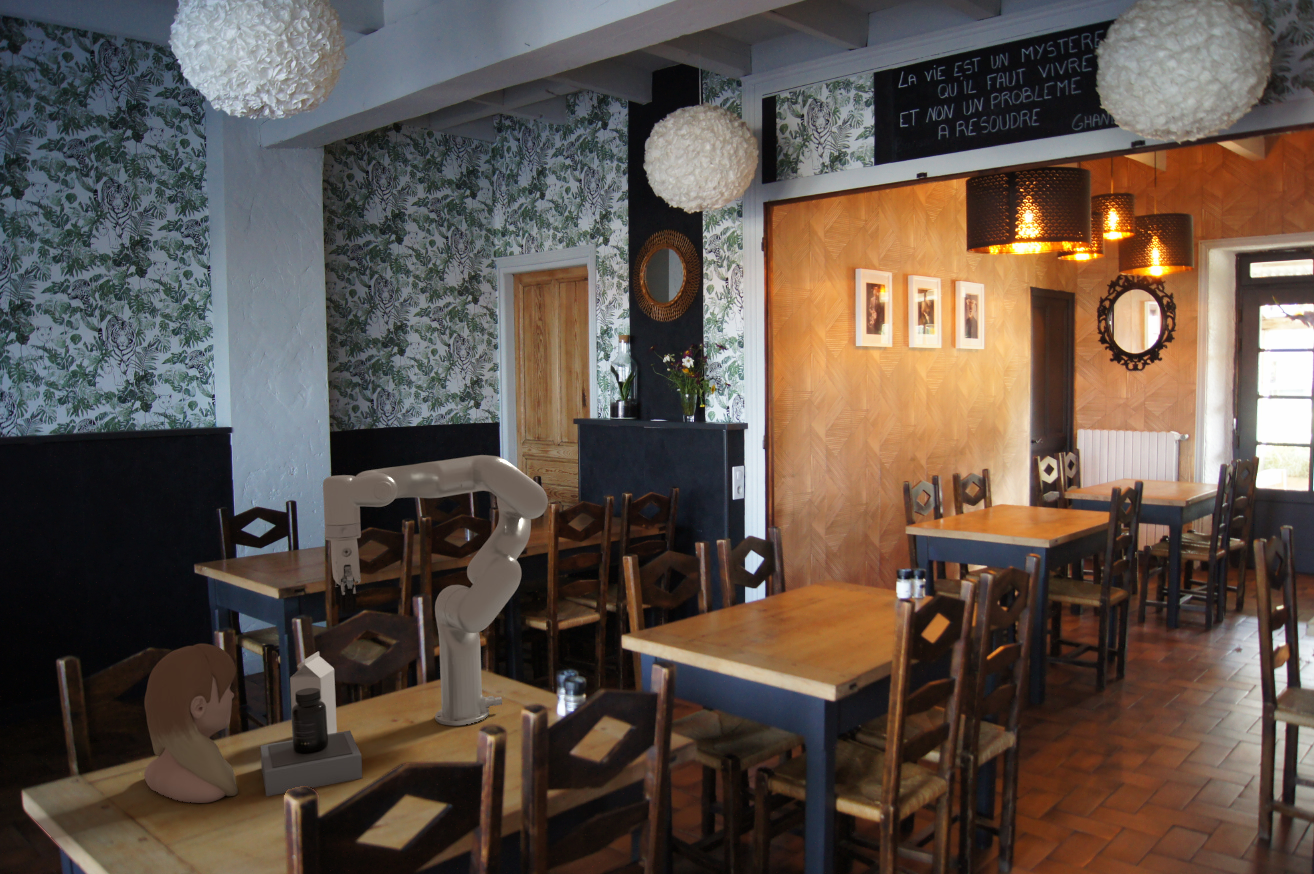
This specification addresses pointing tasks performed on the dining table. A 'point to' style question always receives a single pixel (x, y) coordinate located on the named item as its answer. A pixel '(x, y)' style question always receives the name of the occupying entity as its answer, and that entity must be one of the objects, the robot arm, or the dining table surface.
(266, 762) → the display riser
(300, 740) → the supplement bottle
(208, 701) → the head mannequin
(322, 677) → the milk carton
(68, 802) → the dining table surface
